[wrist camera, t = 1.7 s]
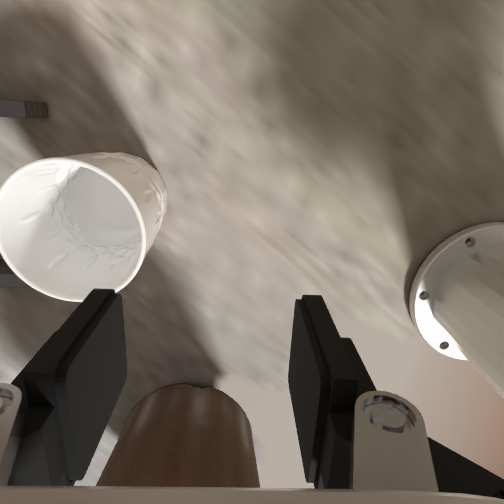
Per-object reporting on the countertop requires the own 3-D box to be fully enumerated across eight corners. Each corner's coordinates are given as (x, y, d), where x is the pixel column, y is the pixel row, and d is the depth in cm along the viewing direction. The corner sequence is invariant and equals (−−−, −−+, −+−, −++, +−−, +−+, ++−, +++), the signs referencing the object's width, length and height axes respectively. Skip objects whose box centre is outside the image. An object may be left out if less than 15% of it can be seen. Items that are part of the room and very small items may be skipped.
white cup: (66, 140, 28) (-22, 152, 18) (175, 147, 28) (143, 162, 19) (76, 242, 30) (3, 299, 21) (176, 247, 31) (147, 305, 21)
